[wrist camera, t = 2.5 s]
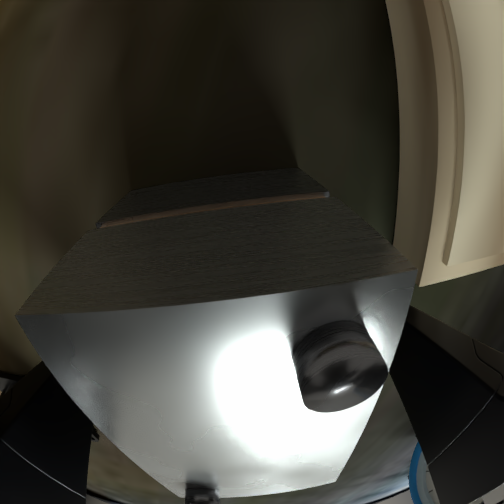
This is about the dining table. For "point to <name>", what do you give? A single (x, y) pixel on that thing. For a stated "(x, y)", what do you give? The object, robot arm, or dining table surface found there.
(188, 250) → the box
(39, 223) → the dining table surface
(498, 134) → the beige tray
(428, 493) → the alarm clock
